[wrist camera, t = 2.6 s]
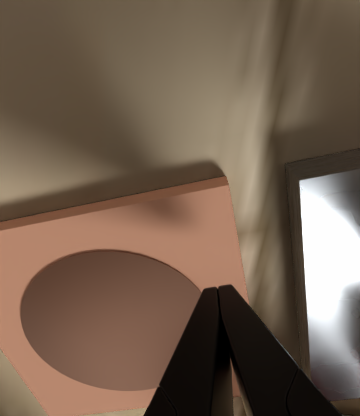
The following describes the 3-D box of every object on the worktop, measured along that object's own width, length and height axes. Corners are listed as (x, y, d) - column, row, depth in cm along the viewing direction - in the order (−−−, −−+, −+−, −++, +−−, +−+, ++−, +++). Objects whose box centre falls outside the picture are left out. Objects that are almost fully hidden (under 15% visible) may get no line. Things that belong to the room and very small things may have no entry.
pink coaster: (260, 377, 15) (264, 395, 15) (56, 403, 17) (49, 420, 16) (226, 175, 11) (229, 186, 10) (-58, 233, 12) (-75, 246, 11)
